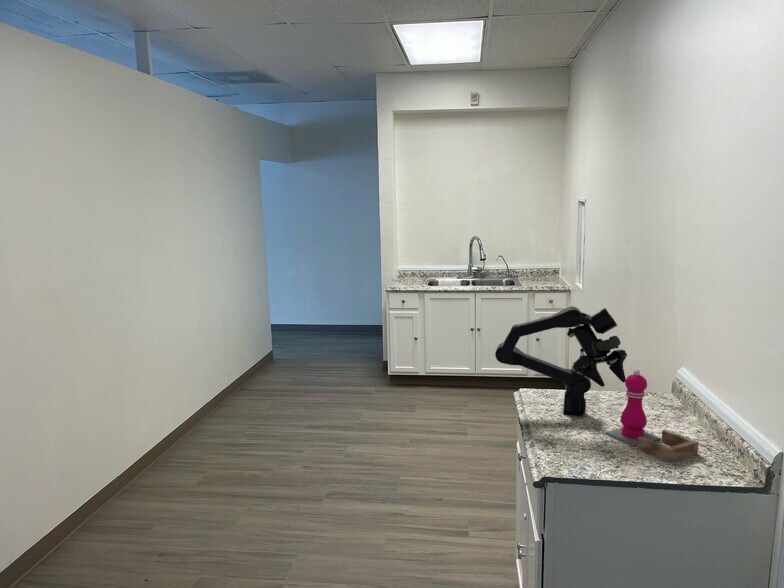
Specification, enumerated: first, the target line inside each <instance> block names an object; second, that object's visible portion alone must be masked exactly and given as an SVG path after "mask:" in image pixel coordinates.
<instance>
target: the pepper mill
mask: <svg viewBox="0 0 784 588" xmlns="http://www.w3.org/2000/svg"><path fill="white" fill-rule="evenodd" d="M625 379H626V381H625V382H624V386H625V388H626V394H625V395H626V396H627V402H626V406H625V407H624V410H623V411H622V413H621V415H620V423H621V424H622V427H621V428H622V431H621V433H622V435H623V436H625V437H628V438H634V439H638V437H640V436H642V437H644V431H645V429H644V428H645V427H646V426H647V424H648V422H647V420H648V419H647V416H646V414H645V411H644V407H643V398H645V394H646V393H645V390H647V387H648V381H647V379H646V378H645V377H644V376H643V375H641V371H640V370H639V369H635V370H634V371H633V373H632V374H629V375H628V376H627V377H625Z"/></svg>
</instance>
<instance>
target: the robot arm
mask: <svg viewBox="0 0 784 588" xmlns="http://www.w3.org/2000/svg"><path fill="white" fill-rule="evenodd" d="M616 327H618V324H617V322H616V321H615V319H614V317H613V315H612V314H610V313H609V311H608V310H607V308H606V307H604V308H602V309H601V310H600V311H598V312H597V313H595V314H593V315H591V314H587V313H585V312H582V311H581V310H580V309H579V308H578V307H576V306H568V307H566V308H564V309H562V310H560V311H558V312H555V314H552V315H549V316H545V317H542V318H538V319H533V320H530V321H527V322H523V323H519V324H518V323H516V324H514V325H511V328H510V331H509V332H508V335H507V336H506V338H505V340H504V341H502V342H501V343H500V344H498V345H497V347H496V350H495V354H494V355H495V358H496V360H497V362H499V363H501V364H504V365H510V366H520V367H523V368H526V369H528V370H531V371H533V372H536V373H538V374H541V375H544V376H547V377H549V378H551V379H554V380H557V381H559V382H561V383H562V384H564V386H565V391H564V394H563V395H564V396H563V411H562V414H563V415H567V416H578V417H584V416H585V413H586V408H587V399H586V397H585V394H586V393H587V392H589V391H590V389H591V387H592V384H591V381H593V382H594V383H596V384H597V385H599V387H602V388H604V387H605V386H606V385H605V382H604V379H603V378H602V376H601V374H600V372H599V370H598V368H597V367H598V365H597V364H604V363H606V365H608V369H609V370H610V371H611V372H612V373H613V374H614V375H615V376H616V378H618V379H619V380H620V381H621V382H622V383H624V384H625V381H626V375H625V371H624V361H625V360H626V359H627V358H626V357H628V353H627V352H626V350H624V349H621V348H620V347H619V346H620V345H621V340H620V338H619V337H618V335H613V336H612V335H611V336H609V338H607V339H604V340H603V338H598V337H597V335H596V334H601V335H604V334H606V333H607V332H609V331H611V330H613V329H614V328H616ZM556 328H557V329H561V328H562V329H568V331H567V333H566V335H567V336H568V338H570V339H571V338H573V337H575V339H576V340H577V342H578V344H579V346H580V347H581V348H580V349H579V351H580V352H581V353H584V354H585V355H581V356H580V357H579V358H577V360H575V361H574V362H573V364H572V366H571V368H570V369H569V368H563V367H561V366H558V365H555V364H553V363H550V362H549V361H545V360H543V359H540V358H537V357H534V356H533V355H532V356H531V354H527V353H525V352H523V351H522V350H520V349H519V348H518V347H517V344H518V342H519V340H520V339H521V338H522V337H525V336H529V335H533V334H536V333H539V332H544V331H548V330H551V329H556ZM594 331H595V332H596V334H595V332H594ZM619 348H620V349H619ZM611 350H612V351H611Z"/></svg>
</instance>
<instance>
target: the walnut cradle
mask: <svg viewBox="0 0 784 588" xmlns="http://www.w3.org/2000/svg"><path fill="white" fill-rule="evenodd" d="M661 442H662V443H664V444H666V445H669V446H670V447H669V446H666V445H663V444H662V443H659V442H658V441H655V442H654V441H652V440H650V439H647V438H645V437H642V436H640V437H638V439H637V447H636V449H637V450H638V451H641V452H644V453H646V454H647V455H650V456H653V457H655V458H656V459H660V460H661V461H664V462H667V463H669V464H670V463H673V462H678V461H680V460H684V459H686V457H687V458H690V457H693V456H697V455H698V453H699V445H700V442H699V441H698V440H695V439H692V438H689V437H687V436H684V435H681V434H678V433H676V432H674V431H671V430H669V429H663V430H662V431H661ZM689 456H690V457H689Z"/></svg>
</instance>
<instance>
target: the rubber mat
mask: <svg viewBox="0 0 784 588" xmlns="http://www.w3.org/2000/svg"><path fill="white" fill-rule="evenodd" d="M621 431H622V427H619V428H617V429H613V430H609V431H606V432H604V435H606V436H608V437H611V438H613V439H616V440H618V441H620V442H622V443H624V444H626V445H629V446H631V447H633V448H637V439H634V438H628V437H625V436H623V435H622V433H621ZM644 437H645V438H647V439H650V440H652V441H654V442H659V441H662V437H659V436H657V435H655V434H652V433H649V432H647V431H645V430H644Z"/></svg>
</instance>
